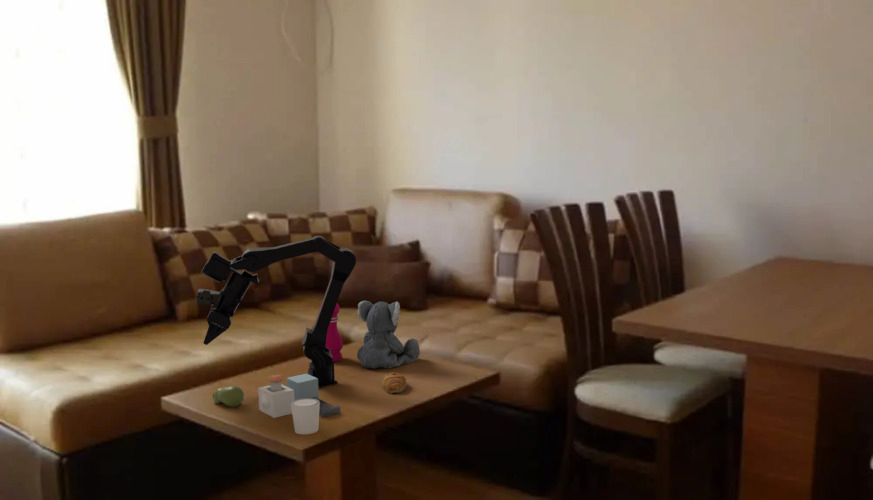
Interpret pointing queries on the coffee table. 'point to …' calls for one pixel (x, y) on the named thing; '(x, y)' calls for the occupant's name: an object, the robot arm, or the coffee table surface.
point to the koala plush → (384, 337)
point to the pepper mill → (334, 337)
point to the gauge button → (275, 382)
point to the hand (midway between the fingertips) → (206, 340)
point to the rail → (327, 409)
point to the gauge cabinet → (275, 401)
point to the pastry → (394, 382)
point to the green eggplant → (229, 396)
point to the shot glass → (305, 415)
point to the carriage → (303, 386)
